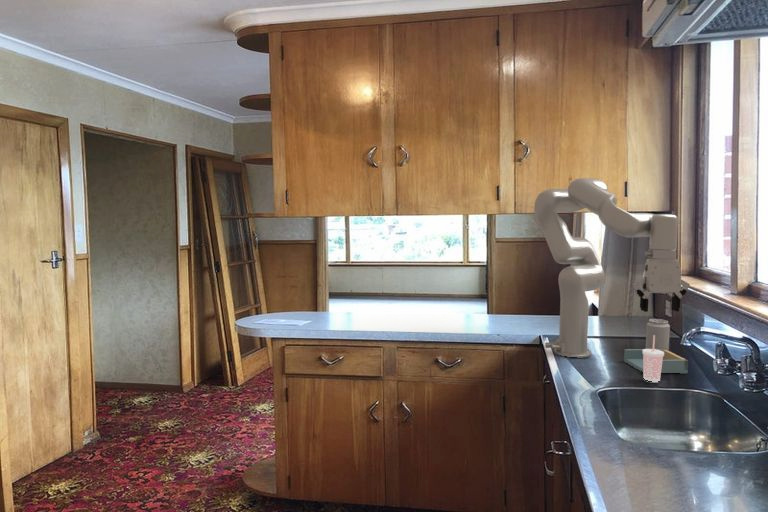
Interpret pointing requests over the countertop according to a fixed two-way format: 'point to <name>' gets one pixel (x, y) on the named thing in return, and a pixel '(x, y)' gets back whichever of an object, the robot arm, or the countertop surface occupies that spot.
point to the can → (657, 334)
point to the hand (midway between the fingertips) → (659, 310)
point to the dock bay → (669, 363)
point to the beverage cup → (652, 363)
